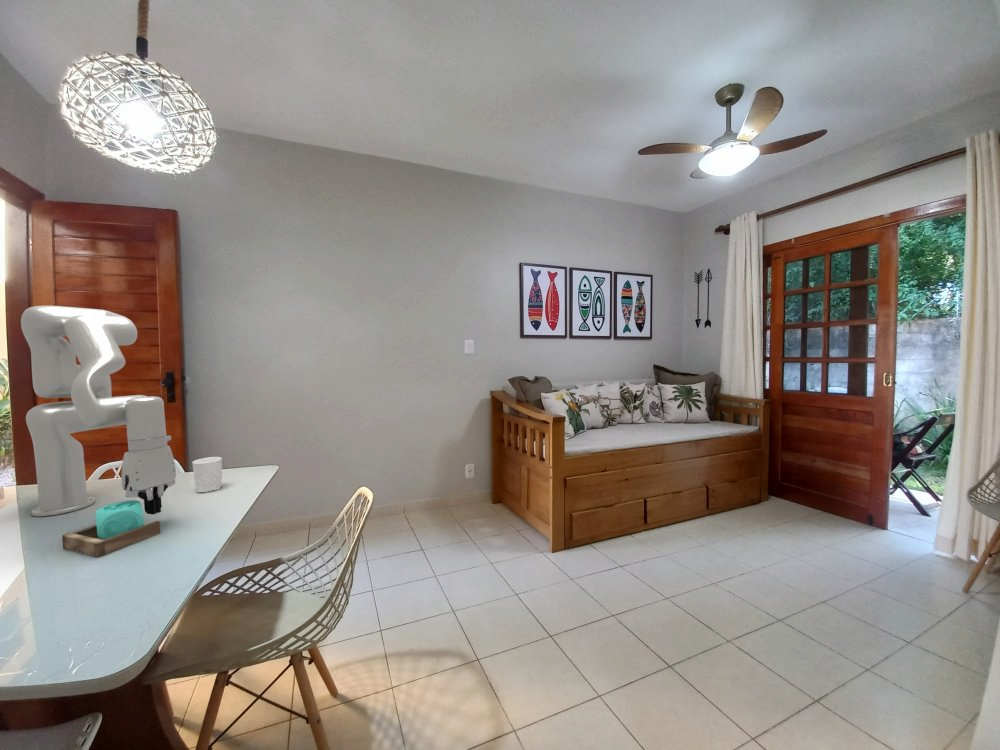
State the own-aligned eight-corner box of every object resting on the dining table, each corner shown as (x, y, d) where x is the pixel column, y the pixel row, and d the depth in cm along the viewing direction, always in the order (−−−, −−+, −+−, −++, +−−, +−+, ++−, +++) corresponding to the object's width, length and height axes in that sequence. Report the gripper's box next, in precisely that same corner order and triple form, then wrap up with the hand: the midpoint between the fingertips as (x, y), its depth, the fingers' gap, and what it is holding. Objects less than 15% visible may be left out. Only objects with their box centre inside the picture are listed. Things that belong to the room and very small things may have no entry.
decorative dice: (97, 538, 96) (94, 507, 96) (141, 527, 102) (138, 497, 102) (99, 549, 91) (95, 516, 90) (145, 536, 97) (142, 505, 96)
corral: (63, 548, 92) (61, 534, 92) (126, 526, 103) (125, 514, 103) (98, 557, 88) (97, 542, 87) (160, 532, 99) (159, 520, 99)
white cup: (207, 494, 126) (206, 464, 125) (187, 493, 128) (185, 462, 127) (229, 486, 134) (227, 457, 133) (210, 484, 135) (208, 456, 135)
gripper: (169, 437, 110) (174, 501, 111) (102, 450, 96) (108, 523, 97) (188, 438, 108) (193, 503, 109) (122, 452, 94) (128, 526, 95)
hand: (153, 512), depth 103 cm, fingers closed
